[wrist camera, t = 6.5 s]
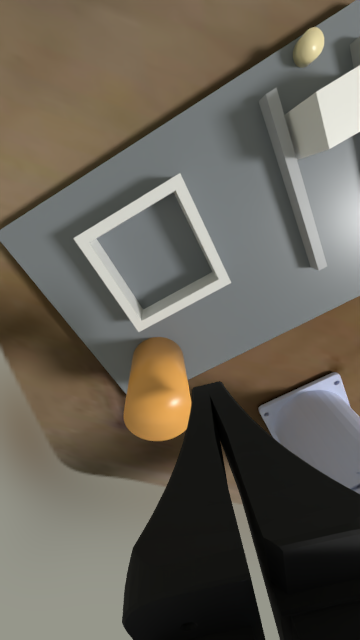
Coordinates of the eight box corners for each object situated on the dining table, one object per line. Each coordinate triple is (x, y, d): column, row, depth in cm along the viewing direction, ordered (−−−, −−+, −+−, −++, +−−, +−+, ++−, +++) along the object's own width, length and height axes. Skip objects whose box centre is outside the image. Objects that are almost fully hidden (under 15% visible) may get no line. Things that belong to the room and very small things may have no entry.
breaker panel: (399, 265, 20) (441, 275, 17) (136, 396, 23) (133, 423, 20) (358, 4, 14) (413, -50, 11) (4, 231, 17) (-28, 237, 14)
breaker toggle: (361, 122, 15) (412, 101, 12) (296, 160, 15) (329, 149, 12) (352, 73, 14) (406, 36, 11) (283, 115, 14) (315, 91, 11)
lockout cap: (192, 366, 21) (204, 423, 15) (149, 387, 21) (146, 450, 16) (167, 328, 19) (172, 376, 14) (122, 351, 20) (109, 407, 14)
